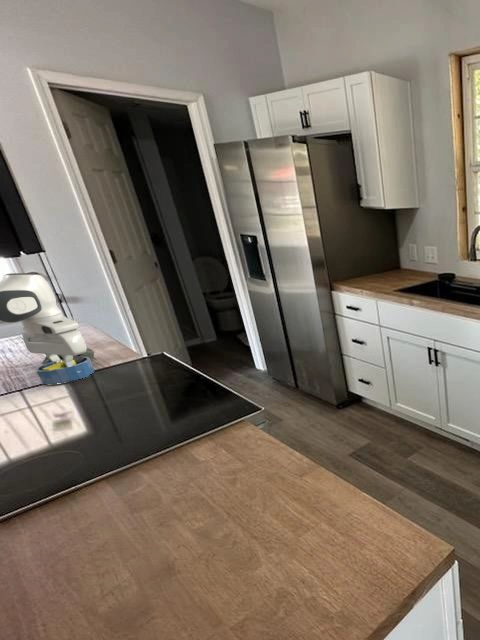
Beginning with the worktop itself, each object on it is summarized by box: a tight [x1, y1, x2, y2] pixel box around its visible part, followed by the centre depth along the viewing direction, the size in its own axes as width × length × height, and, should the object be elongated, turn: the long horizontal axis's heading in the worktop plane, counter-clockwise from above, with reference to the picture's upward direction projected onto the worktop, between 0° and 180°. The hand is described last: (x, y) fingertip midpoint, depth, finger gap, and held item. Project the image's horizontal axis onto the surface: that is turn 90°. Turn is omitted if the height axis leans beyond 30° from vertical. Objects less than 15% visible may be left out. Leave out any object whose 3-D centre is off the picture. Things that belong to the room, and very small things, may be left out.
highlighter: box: [42, 356, 85, 371], centre depth 131 cm, size 9×3×3 cm, turn 167°
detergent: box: [41, 347, 95, 365], centre depth 145 cm, size 13×7×25 cm
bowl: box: [34, 357, 96, 386], centre depth 132 cm, size 12×12×5 cm
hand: (64, 366), depth 131 cm, fingers closed on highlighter, 3 cm apart
